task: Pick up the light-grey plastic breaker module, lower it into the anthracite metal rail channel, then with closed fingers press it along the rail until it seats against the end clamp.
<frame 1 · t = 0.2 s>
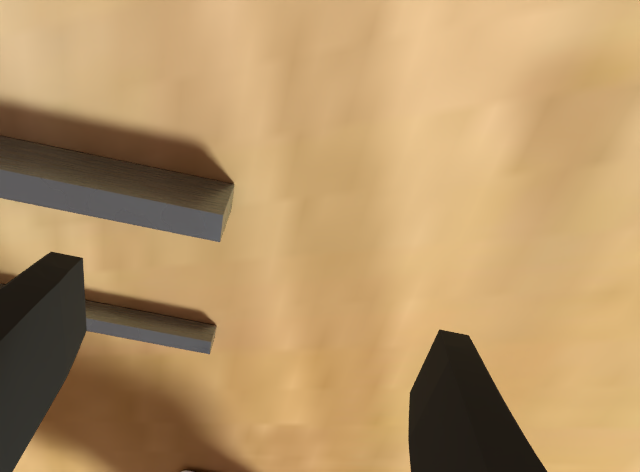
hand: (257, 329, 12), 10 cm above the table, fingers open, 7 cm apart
rail: (28, 233, 24), on the table
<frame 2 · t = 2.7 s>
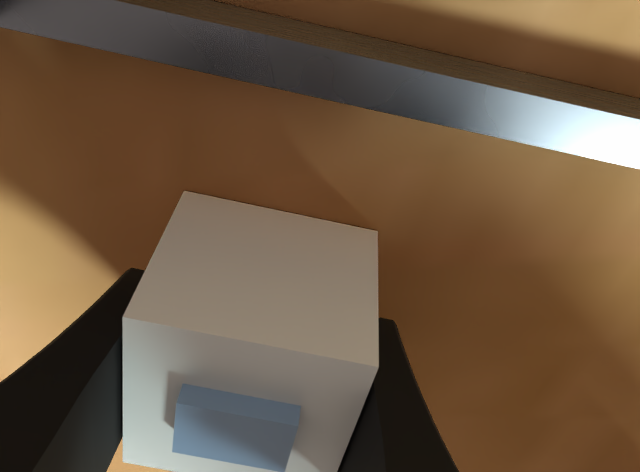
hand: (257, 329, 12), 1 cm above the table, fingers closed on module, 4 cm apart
module: (267, 283, 13), on the table, touching gripper
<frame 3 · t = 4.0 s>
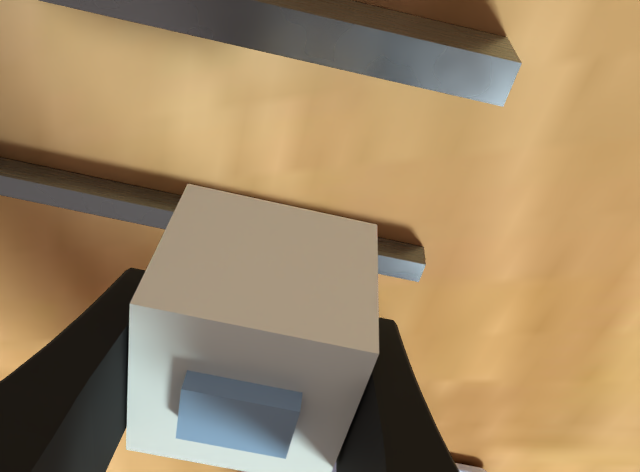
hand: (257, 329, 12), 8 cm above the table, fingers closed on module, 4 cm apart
rail: (208, 116, 19), on the table
module: (268, 275, 13), point 7 cm above the table, touching gripper
when the fingers open (3 cm above the table, at t = 5.4 s): module drops 1 cm, resting in rail.
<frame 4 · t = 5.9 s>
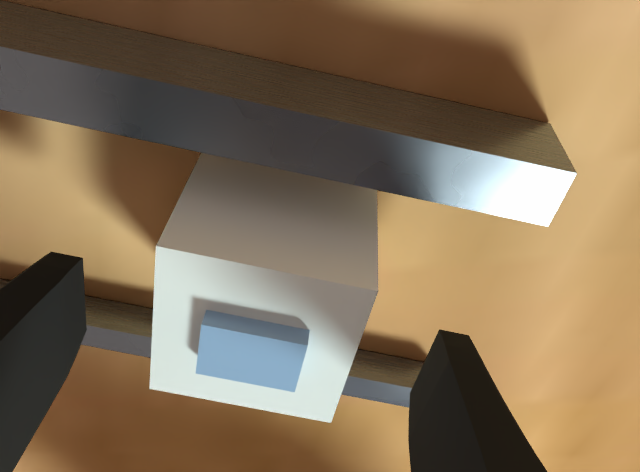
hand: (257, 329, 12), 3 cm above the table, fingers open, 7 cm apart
rail: (154, 215, 14), on the table
module: (277, 235, 15), resting in rail
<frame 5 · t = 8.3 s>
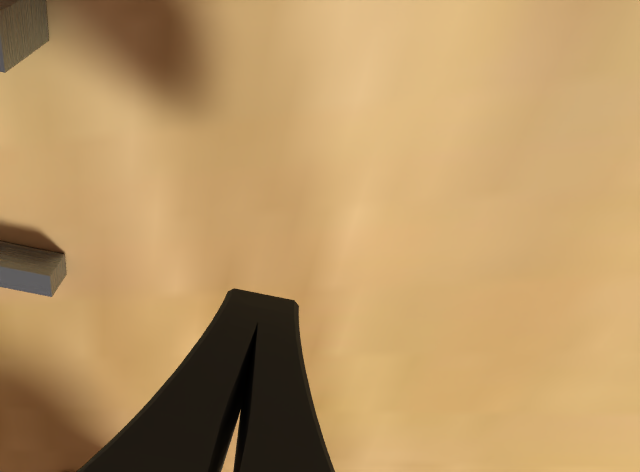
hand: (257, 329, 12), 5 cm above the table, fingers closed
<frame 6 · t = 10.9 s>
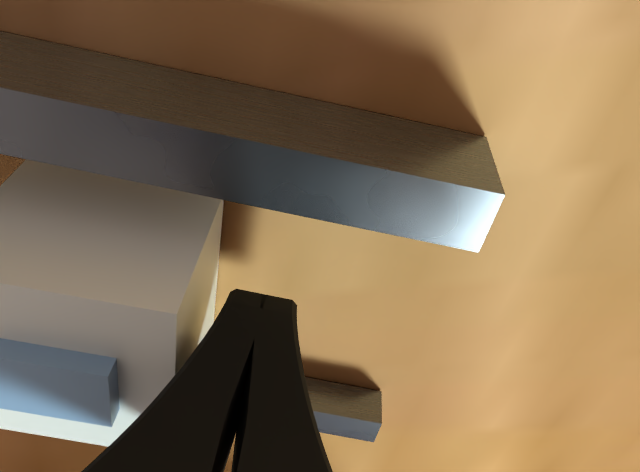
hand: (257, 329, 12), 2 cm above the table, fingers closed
rail: (68, 235, 13), on the table
module: (130, 249, 13), resting in rail, touching gripper
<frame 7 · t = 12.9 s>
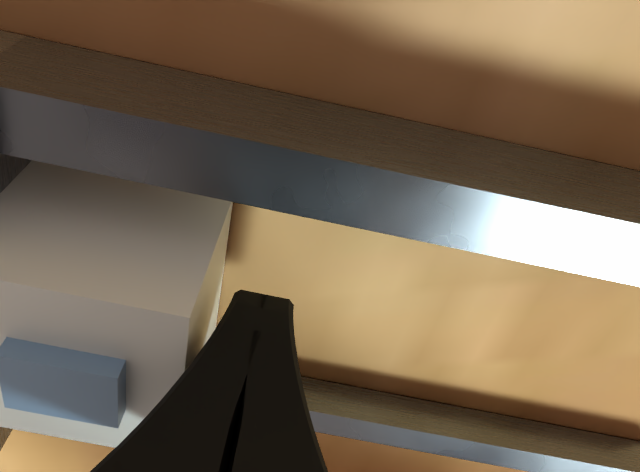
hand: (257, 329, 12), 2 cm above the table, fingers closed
rail: (396, 301, 14), on the table
module: (135, 249, 13), resting in rail, touching gripper
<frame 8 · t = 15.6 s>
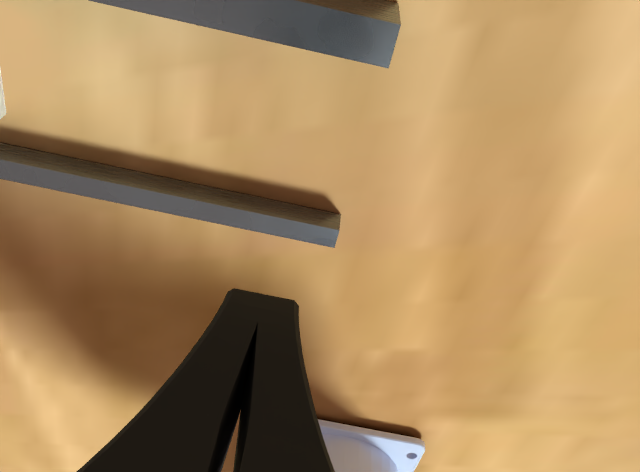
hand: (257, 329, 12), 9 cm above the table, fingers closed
rail: (121, 84, 19), on the table
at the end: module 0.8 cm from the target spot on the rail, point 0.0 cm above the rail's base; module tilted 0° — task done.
